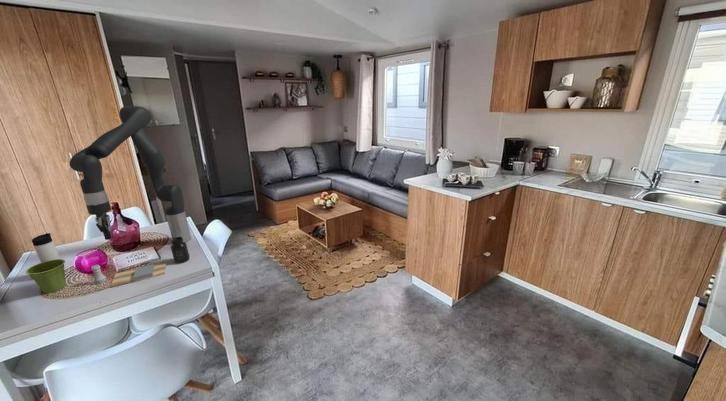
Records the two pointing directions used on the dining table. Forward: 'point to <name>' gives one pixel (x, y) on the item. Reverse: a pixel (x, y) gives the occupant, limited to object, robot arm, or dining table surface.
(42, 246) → the travel mug
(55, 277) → the plant pot
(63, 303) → the dining table surface
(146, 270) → the grey picture frame
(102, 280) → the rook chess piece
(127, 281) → the mat
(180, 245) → the supplement bottle
